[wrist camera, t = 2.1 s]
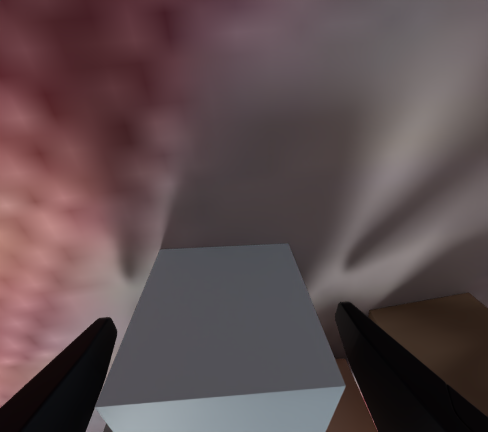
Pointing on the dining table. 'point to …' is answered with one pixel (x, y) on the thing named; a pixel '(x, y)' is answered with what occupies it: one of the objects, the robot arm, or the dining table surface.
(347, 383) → the terracotta block
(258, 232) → the dining table surface
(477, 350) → the walnut block
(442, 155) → the dining table surface
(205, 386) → the grey cube
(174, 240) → the dining table surface
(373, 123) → the dining table surface
